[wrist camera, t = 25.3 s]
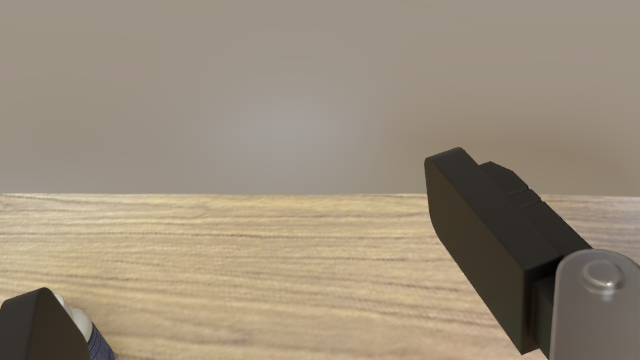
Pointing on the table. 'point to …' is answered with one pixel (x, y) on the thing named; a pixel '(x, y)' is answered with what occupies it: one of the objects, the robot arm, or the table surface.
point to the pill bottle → (89, 333)
